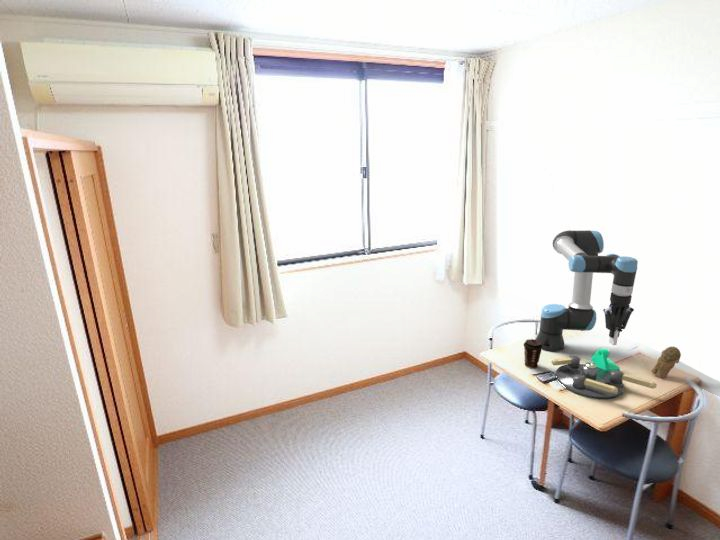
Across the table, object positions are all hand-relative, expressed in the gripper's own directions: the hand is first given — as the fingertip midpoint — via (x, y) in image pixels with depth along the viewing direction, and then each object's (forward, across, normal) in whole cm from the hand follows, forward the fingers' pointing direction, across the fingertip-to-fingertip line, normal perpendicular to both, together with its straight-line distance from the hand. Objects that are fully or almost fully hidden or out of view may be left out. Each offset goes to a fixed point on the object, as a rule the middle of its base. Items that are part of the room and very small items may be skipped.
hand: (612, 343), depth 181 cm
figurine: (+24, +35, +5) cm, 43 cm away
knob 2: (+21, +11, -3) cm, 24 cm away
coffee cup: (+24, -20, +27) cm, 41 cm away
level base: (+24, -3, +7) cm, 25 cm away
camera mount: (+24, +14, +18) cm, 34 cm away
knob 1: (+21, -8, -3) cm, 23 cm away
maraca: (+21, -8, +18) cm, 29 cm away
